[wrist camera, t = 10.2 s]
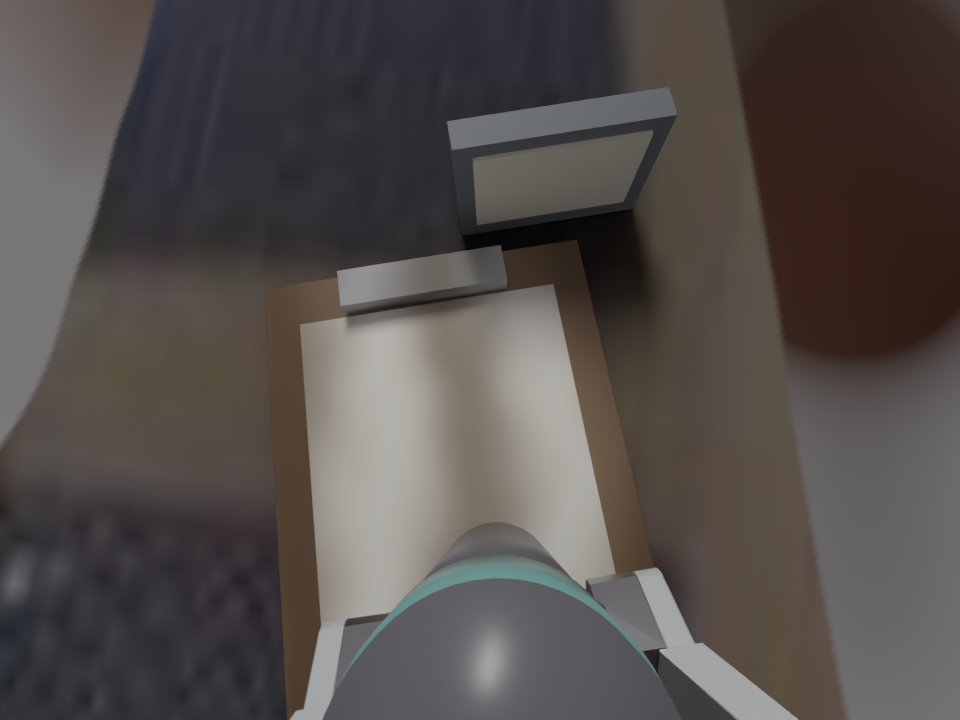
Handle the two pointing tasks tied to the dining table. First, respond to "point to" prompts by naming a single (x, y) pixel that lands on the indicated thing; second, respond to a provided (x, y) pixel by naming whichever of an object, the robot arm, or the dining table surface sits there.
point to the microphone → (500, 645)
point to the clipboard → (438, 430)
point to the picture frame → (557, 159)
